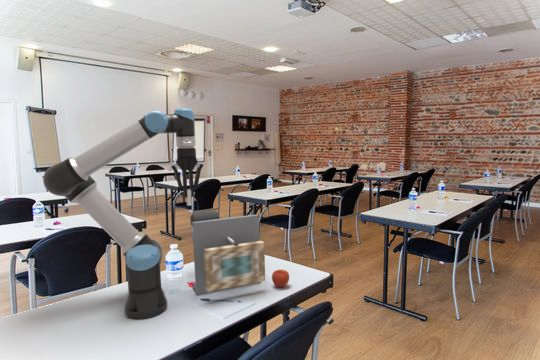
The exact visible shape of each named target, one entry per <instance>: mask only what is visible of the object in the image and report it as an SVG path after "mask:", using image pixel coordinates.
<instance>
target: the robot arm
mask: <svg viewBox="0 0 540 360" xmlns="http://www.w3.org/2000/svg"><path fill="white" fill-rule="evenodd" d="M195 129H196V128H195V113H194V110H193V109H192V108H175V109H174V112H173V114H172V113H170V114H168V113H167V114H165V113H163V112H162V111H160V110H153V111H150V112H148V113H147V114H144V115H143V117H142V118H141V119H139V120H137V121H136V122H134V123H132V124H130V125H129V126H127V127H125V128H123V129H121V130H120V131H118V132H116V133H114V134H113V135H111V136H110V137H108V138H107V139H105V140H103V141H101V142H98V144H96V145H95V146H93V147H91V148H89V149H87V150H86V151H85V152H82V153H81V154H79V155H78V156H76V157H73V156H69V157H67V158H66V159H64V160H63V161H61V162H58V163H56V164H53V165H52V166H49V167H48V168H47V169H46V171H45V172H44V174H43V179H42V180H43V181H42V182H43V186H44V188H45V189H46V190H47V192H49V193H51V194H52V195H55V196H57V197H58V196H60V197H65V199H66V200H68V202H70V203H71V204H78V205H79V206H80V207H81V209H83V210H84V211H85V212H86V214H88V215H89V217H91V219H93V220H94V222H96V223H97V224H98V225H99V226H100V227H101V228H102V229H103V230H104V232H106V233H107V234H108V235H109V236H110V237H111V238H112V239H113V240H114V241H115V242H116V243H117V245H119V246H120V247H121V254H122V255H123V256H124V257H125V264H126V276H127V287H128V288H127V289H128V294H127V296H126V297H127V298H126V301H125V305H124V315H125V314H126V315H127V316H128V317H127V316H126V315H125V316H126V317H127V318H129V317H130V318H129V319H132V318H137V319H136V320H143V318H146V319H150V317H151V318H154V317H156V316H159V315H161V314H163V313H164V312H165V311H166V310H167V309H168V300H167V296H166V295H165V292H164V290H163V288H162V277H161V264H162V259H163V248H162V247H161V245H160V243H159V242H158V241H157V240H155V239H153V238H151V237H150V236H149V235H148V234H147V233H146V232H140V231H138V230H137V229H136V227H135V226H133V224H131V222H130V221H129V220H128V219H127V218H126V217H125V216H124V215H123V214H122V213H121V212H120V211H119V210H118V209H117V208H116V207H115V206H114V205H113V204H112V203H111V202H110V201H109V200H108V199H107V197H105V195H103V193H102V192H101V191H100V190H99V189H98V188H97V182H96V181H95V179H94V178H93V177H92V176H91V175H92V174H94V173H96V172H98V171H99V170H101V169H102V168H105V167H106V166H107V165H110V164H111V163H112V162H114V161H116V160H117V159H119V158H121V157H123V156H124V155H125V154H127V153H129V152H130V151H132V150H133V149H135V148H137V147H139V146H140V145H143V144H144V143H145V142H147V141H149V140H150V139H153V138H154V137H156V136H158V135H159V134H175V138H176V139H175V142H176V148H177V149H176V161H175V163H174V164H172V165H171V166H170V168H171V170H172V171H173V173H174V177H175V179H176V182H177V186H178V188H179V189H182V190H183V197H184V198H185V199H186V206H188V207H189V206H193V205H192V204H193V203H192V198H193V197H195V196H194V195H195V194H194V193H195V192H194V189H196V188H198V187H199V182H200V177H201V176H200V175H201V172H202V169H203V167H204V164H203V163H200V162H198V159H197V150H196V145H197V144H196V132H195V131H196V130H195ZM179 168H180V170H181V173H182V180H181V177H180V173H179V170H178V169H179ZM195 168H196V170H195V175H194V174H193V173H194V169H195ZM187 172H188V175H187ZM194 176H195V177H194ZM187 180H188V181H187ZM188 185H189V187H188Z"/></svg>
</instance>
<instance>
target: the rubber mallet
mask: <svg viewBox="0 0 540 360" xmlns="http://www.w3.org/2000/svg"><path fill="white" fill-rule="evenodd" d="M214 219H220V215H219V211H217V210H207V211H206V210H204V211H198V212H194V213H191V214H190V219H189V220H190V225H191V227H192V222H197V221H205V220H214Z"/></svg>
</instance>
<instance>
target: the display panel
mask: <svg viewBox="0 0 540 360" xmlns="http://www.w3.org/2000/svg"><path fill="white" fill-rule="evenodd" d="M259 217H260V216H259V215H258V214H249V215H242V216H232V217H231V216H230V217H225V218H219V219H214V220H205V221H197V222H192V226H191V227H192V229H191V230H192V244H193V263H194V264H193V265H194V266H193V267H194V279H195V280H194V281H195V282H194V283H193V284H192V289H193V291H194V293H195V294H196V296H201V295H207V294H212V293H217V292H222V291H227V290H233V289H237V288H241V287H247V286H253V285H258V284H261V282H256V283H251V284H246V285H241V286H236V287H230V288H225V289H220V290H215V291H210V292H207V290H206V285H205V263H204V249H208V248H215V247H222V246H228V245H234V244H235V243H238V244H242V243H249V242H256V241H260V223H259V222H260V220H259V219H260V218H259Z"/></svg>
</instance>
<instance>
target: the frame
mask: <svg viewBox="0 0 540 360" xmlns="http://www.w3.org/2000/svg"><path fill="white" fill-rule="evenodd" d="M265 252H266V251H265V242H264V241H263V240H259V241H256V242H249V243H242V244H238V243H235V244H234V245H228V246H222V247H215V248H208V249H204V263H205V285H206V290H207V292H210V291H215V290H220V289H225V288H230V287H236V286H241V285H246V284H251V283H256V282H262V283H263V282H265V281H266V260H265V257H266V256H265Z"/></svg>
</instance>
